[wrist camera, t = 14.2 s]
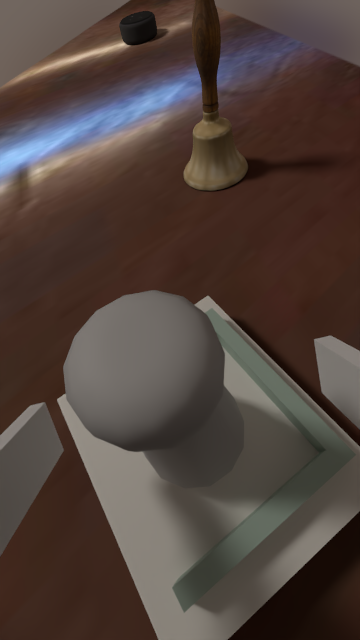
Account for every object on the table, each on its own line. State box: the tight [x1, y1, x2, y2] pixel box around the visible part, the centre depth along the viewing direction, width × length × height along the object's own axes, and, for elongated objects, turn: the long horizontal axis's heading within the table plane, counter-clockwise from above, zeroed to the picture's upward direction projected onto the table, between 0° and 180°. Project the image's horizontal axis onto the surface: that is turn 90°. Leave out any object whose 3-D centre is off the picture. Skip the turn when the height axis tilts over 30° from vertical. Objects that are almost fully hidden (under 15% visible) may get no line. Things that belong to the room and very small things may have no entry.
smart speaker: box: [119, 11, 157, 45], centre depth 69 cm, size 9×9×4 cm
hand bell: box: [184, 0, 248, 191], centre depth 30 cm, size 8×8×16 cm
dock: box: [57, 296, 360, 640], centre depth 18 cm, size 16×14×4 cm
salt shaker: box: [63, 290, 244, 488], centre depth 12 cm, size 6×6×13 cm
